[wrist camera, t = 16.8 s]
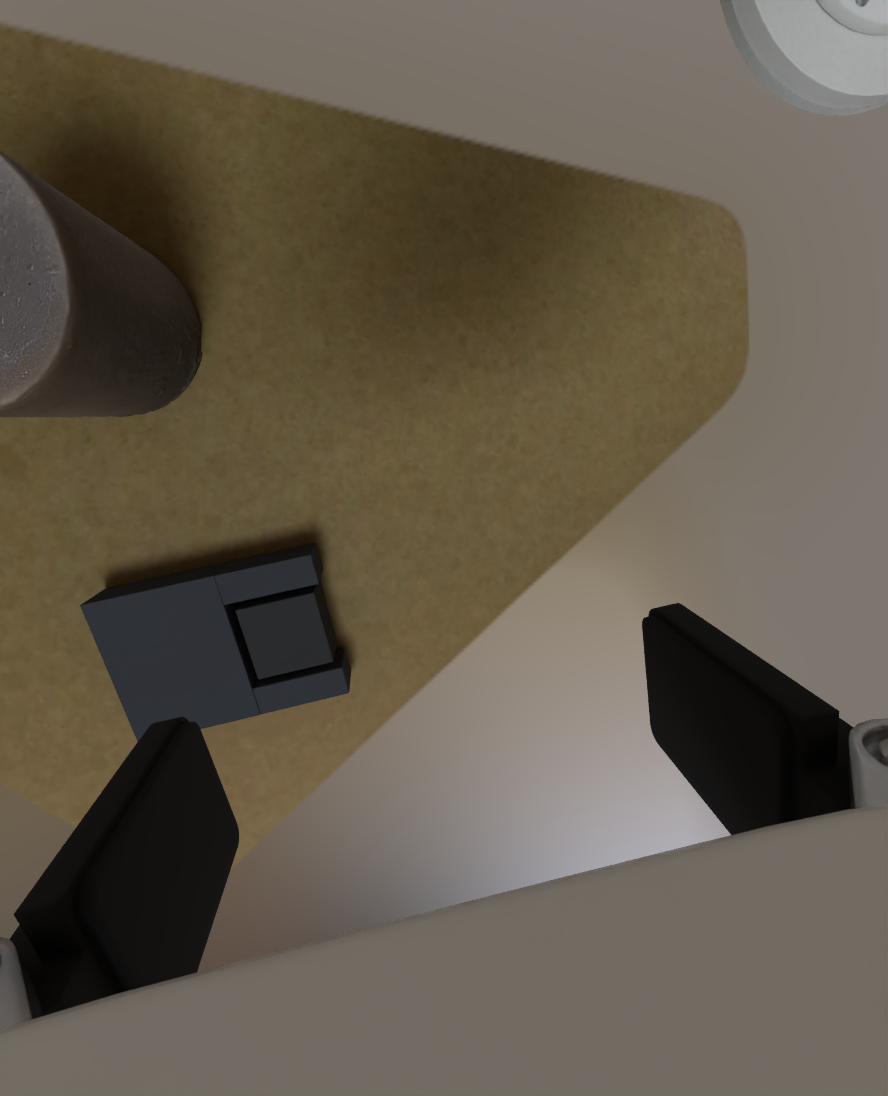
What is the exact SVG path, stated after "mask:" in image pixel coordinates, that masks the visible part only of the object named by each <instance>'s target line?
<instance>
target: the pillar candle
mask: <svg viewBox="0 0 888 1096" xmlns="http://www.w3.org/2000/svg"><path fill="white" fill-rule="evenodd" d="M200 334H201V326H200V322H199V319H198V316H197V312H196V309H195V307H194V304H193V302H192V300H191V298H190V296H189V294H188V293H187V291H186V289H185V288H184V287H183V285H182V284H181V282H180V281H179V280H178V278H177V277H176V276H175V275H174V274H173V273H172V272H171V271H170V270H169V269H168V268H167V267H166V266H165V265H164V264H163V263H162V262H161V261H160V260H158V259H157V258H156V257H154V256H153V255H152V254H150V253H149V252H147V251H146V250H144V249H143V248H141V247H140V246H138V245H137V244H135V243H134V242H133V241H131V240H130V239H128V238H127V237H125V236H124V235H122V234H121V233H119V232H118V231H117V230H115V229H114V228H112V227H111V226H109V225H108V224H106V223H105V222H103V221H102V220H100V219H99V218H98V217H96V216H95V215H93V214H92V213H90V212H89V211H87V210H86V209H84V208H83V207H82V206H80V205H79V204H77V203H76V202H75V201H73V200H72V199H70V198H69V197H67V196H66V195H64V194H63V193H61V192H60V191H58V190H57V189H55V188H54V187H52V186H51V185H49V184H48V183H47V182H45V181H44V180H42V179H41V178H39V177H38V176H36V175H35V174H34V173H32V172H31V171H29V170H28V169H26V168H25V167H24V166H22V165H21V164H19V163H18V162H16V161H15V160H13V159H12V158H10V157H9V156H7V155H6V154H4V153H3V152H1V151H0V417H82V416H96V417H106V416H118V417H121V416H131V415H135V414H145V413H148V412H150V411H155V410H157V409H160V408H162V407H164V406H166V405H167V404H169V403H170V401H173V400H174V399H176V398H177V397H178V396H180V395H181V393H182V392H183V391H184V390H185V389H186V388H187V387H188V385H189V383H190V382H191V381H192V378H193V377H194V375H195V373H196V371H197V368H198V366H199V362H200V360H201V351H200V343H201V342H200Z"/></svg>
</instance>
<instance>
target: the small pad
mask: <svg viewBox="0 0 888 1096" xmlns="http://www.w3.org/2000/svg"><path fill="white" fill-rule="evenodd" d="M236 614H237V617H238V620H239V623H240V626H241V629H242V632H243V635H244V638H245V641H246V644H247V647H248V650H249V653H250V656H251V659H252V662H253V665H254V668H255V671H256V674H257V677H258V679H263V678H267V677H271V676H275V675H280V674H284V673H288V672H292V671H296V670H301V669H305V668H309V667H313V666H318V665H322V664H326V663H330V662H333V661H334V655H335V648H336V638H335V635H334V631H333V628H332V624H331V620H330V617H329V613H328V609H327V606H326V602H325V599H324V595H323V591H322V588H321V584H320V581H319V584H316V585H311V586H307V587H302V588H298V589H294V590H289V591H285V592H280V593H276V594H271V595H267V596H262V597H258V598H253V599H249V600H245V601H242V602H241V603H240V605H239V606H238V608H237V609H236Z"/></svg>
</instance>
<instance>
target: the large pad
mask: <svg viewBox="0 0 888 1096" xmlns="http://www.w3.org/2000/svg"><path fill="white" fill-rule="evenodd" d="M322 572H323V567H322V563H321V560H320V556H319V552H318V549H317V545H316V543H313V544H308V545H304V546H299V547H295V548H290V549H286V550H281V551H276V552H272V553H267V554H263V555H258V556H254V557H249V558H244V559H240V560H235V561H231V562H226V563H221V564H217V565H212V566H208V567H203V568H198V569H194V570H189V571H185V572H180V573H175V574H171V575H166V576H162V577H157V578H153V579H148V580H143V581H139V582H134V583H130V584H125V585H121V586H116V587H111V588H107V589H104V590H103V591H101V592H100V593H98V594H97V595H95V596H94V597H92V598H90V599H89V600H87V601H86V602H84V603H83V604H81V605H80V606H81V609H82V611H83V613H84V616H85V618H86V620H87V623H88V625H89V627H90V630H91V632H92V635H93V637H94V639H95V642H96V644H97V646H98V649H99V651H100V653H101V656H102V658H103V661H104V663H105V665H106V668H107V670H108V672H109V675H110V677H111V680H112V682H113V684H114V687H115V689H116V691H117V694H118V696H119V698H120V701H121V703H122V706H123V708H124V710H125V713H126V715H127V717H128V720H129V722H130V724H131V727H132V729H133V732H134V734H135V736H136V739H137V741H139V740H140V738H141V737H142V736H143V734H144V733H145V731H146V730H147V729H148V727H149V726H150V725H151V724H152V723H156V722H160V721H165V720H169V719H173V718H178V717H182V716H183V717H186V718H187V719H188V720H189V722H193V721H194V722H196V723H197V724H198V725H199V727H200V729H203V728H207V727H211V726H215V725H219V724H224V723H228V722H232V721H236V720H240V719H244V718H248V717H253V716H257V715H260V714H264V713H268V712H272V711H276V710H280V709H285V708H289V707H293V706H297V705H301V704H305V703H309V702H314V701H318V700H322V699H326V698H330V697H334V696H338V695H343V694H347V693H349V688H350V677H351V670H350V666H349V662H348V659H347V655H346V651H345V649H344V648H343V649H339V650H335V655H334V661H333V662H330V663H326V664H322V665H318V666H313V667H309V668H305V669H301V670H296V671H292V672H288V673H284V674H280V675H275V676H271V677H267V678H263V679H258V677H257V674H256V671H255V668H254V665H253V662H252V659H251V656H250V653H249V650H248V647H247V644H246V641H245V638H244V635H243V632H242V629H241V626H240V623H239V620H238V617H237V614H236V609H237V608H238V606H239V605H240V601H245V600H249V599H253V598H258V597H262V596H267V595H271V594H276V593H280V592H285V591H289V590H294V589H298V588H302V587H307V586H311V585H316V584H319V581H320V578H321V575H322Z"/></svg>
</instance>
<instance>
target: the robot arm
mask: <svg viewBox="0 0 888 1096" xmlns="http://www.w3.org/2000/svg"><path fill="white" fill-rule="evenodd" d="M817 1H818V2H819V4H820V5H821V7H822V8H823V9H824V10H825V11H826V12H827V13H828V14H829V15H831V16H832V17H833V18H834V19H835V20H836V21H837V22H839V23H840V24H842V25H844V26H846V27H848V28H850V29H852V30H853V31H857V32H861V33H865V34H869V35H888V0H817ZM642 630H643V640H644V641H643V642H644V654H645V665H646V678H647V689H648V702H649V713H650V725H651V729H652V733H653V735H654V738H655V740H656V741H657V743H658V744H659V746H660V747H661V748H662V749H663V751H664V752H665V753H666V754H667V756H668V757H669V758H670V759H671V760H672V762H673V763H674V764H675V766H676V767H677V768H678V769H679V770H680V772H681V773H682V774H683V775H684V777H685V778H686V779H687V780H688V782H689V783H690V784H691V785H692V787H693V788H694V789H695V790H696V792H697V793H698V794H699V795H700V796H701V798H702V799H703V800H704V802H705V803H706V804H707V805H708V807H709V808H710V809H711V810H712V811H713V813H714V814H715V815H716V816H717V818H718V819H719V820H720V821H721V823H722V824H723V825H724V826H725V828H726V829H727V830H728V831H729V833H730V834H731V836H727V837H723V838H719V839H714V840H711V841H706V842H702V843H698V844H694V845H690V846H686V847H682V848H678V849H674V850H671V851H666V852H662V853H658V854H654V855H650V856H646V857H642V858H638V859H634V860H630V861H626V862H622V863H619V864H615V865H610V866H606V867H603V868H598V869H594V870H590V871H586V872H582V873H578V874H574V875H571V876H566V877H563V878H558V879H555V880H550V881H547V882H543V883H539V884H535V885H531V886H527V887H523V888H520V889H515V890H511V891H507V892H503V893H500V894H496V895H492V896H488V897H484V898H480V899H476V900H472V901H468V902H464V903H461V904H457V905H453V906H449V907H445V908H442V909H437V910H433V911H430V912H426V913H422V914H418V915H414V916H410V917H406V918H403V919H399V920H395V921H391V922H387V923H383V924H379V925H375V926H372V927H368V928H364V929H360V930H356V931H353V932H348V933H345V934H341V935H337V936H333V937H330V938H326V939H322V940H318V941H314V942H311V943H307V944H303V945H299V946H296V947H292V948H288V949H284V950H280V951H277V952H273V953H269V954H265V955H261V956H258V957H254V958H250V959H246V960H243V961H239V962H235V963H231V964H227V965H223V966H220V967H216V968H212V969H208V970H205V971H201V972H197V970H198V967H199V964H200V961H201V958H202V955H203V952H204V949H205V945H206V943H207V939H208V937H209V933H210V930H211V927H212V924H213V921H214V918H215V915H216V912H217V909H218V906H219V903H220V900H221V896H222V893H223V891H224V888H225V884H226V881H227V878H228V875H229V872H230V869H231V866H232V863H233V860H234V857H235V854H236V851H237V848H238V843H239V829H238V825H237V822H236V820H235V817H234V815H233V812H232V809H231V807H230V804H229V802H228V799H227V797H226V794H225V791H224V789H223V786H222V784H221V781H220V779H219V776H218V773H217V771H216V768H215V766H214V763H213V761H212V758H211V755H210V753H209V750H208V748H207V745H206V743H205V740H204V737H203V735H202V732H201V730H200V727H199V725H198V724H197V723H196V722H194V721H193V722H189V720H188V719H187V718H186V717H183V716H182V717H178V718H173V719H169V720H165V721H160V722H156V723H152V724H151V725H150V726H149V727H148V729H147V730H146V731H145V733H144V734H143V736H142V737H141V738H140V740H139V741H138V743H137V744H136V745H135V747H134V748H133V750H132V751H131V752H130V754H129V755H128V756H127V758H126V759H125V761H124V762H123V763H122V765H121V766H120V768H119V769H118V770H117V772H116V773H115V775H114V776H113V777H112V779H111V780H110V781H109V783H108V784H107V786H106V787H105V788H104V790H103V791H102V793H101V794H100V795H99V797H98V798H97V800H96V801H95V802H94V804H93V805H92V806H91V808H90V809H89V811H88V812H87V813H86V815H85V816H84V818H83V819H82V820H81V822H80V823H79V824H78V826H77V827H76V829H75V830H74V831H73V833H72V834H71V836H70V837H69V838H68V840H67V841H66V843H65V844H64V845H63V847H62V848H61V850H60V851H59V852H58V854H57V855H56V857H55V858H54V859H53V861H52V862H51V863H50V865H49V866H48V868H47V869H46V870H45V872H44V873H43V875H42V876H41V877H40V879H39V880H38V882H37V883H36V884H35V886H34V887H33V889H32V890H31V891H30V893H29V894H28V895H27V897H26V898H25V899H24V901H23V902H22V904H21V905H20V906H19V908H18V909H17V911H16V912H15V913H14V916H15V917H16V919H17V921H18V922H19V924H20V925H19V927H18V928H17V929H16V931H15V932H14V934H13V935H12V937H11V938H10V939H6V938H2V937H0V1096H888V719H887V718H886V719H874V720H869V721H865V722H862V723H859V724H857V725H856V726H855V727H854V728H853V727H852V726H850V725H849V724H848V723H846V722H845V721H843V720H842V719H840V718H839V711H838V710H837V709H835V708H834V707H832V706H831V705H829V704H828V703H826V702H825V701H823V700H822V699H820V698H819V697H817V696H816V695H814V694H813V693H812V692H810V691H808V690H807V689H805V688H804V687H803V686H801V685H800V684H798V683H797V682H795V681H794V680H792V679H791V678H789V677H788V676H786V675H785V674H783V673H782V672H780V671H779V670H777V669H776V668H775V667H773V666H772V665H770V664H769V663H767V662H766V661H764V660H763V659H761V658H760V657H758V656H757V655H755V654H754V653H752V652H751V651H749V650H748V649H747V648H745V647H744V646H742V645H741V644H739V643H738V642H736V641H735V640H733V639H732V638H730V637H729V636H727V635H726V634H724V633H723V632H722V631H720V630H718V629H717V628H716V627H714V626H713V625H711V624H710V623H708V622H707V621H705V620H704V619H702V618H701V617H699V616H698V615H696V614H695V613H693V612H692V611H690V610H689V609H687V608H686V607H685V606H683V605H682V604H679V603H676V604H671V605H667V606H662V607H658V608H654V609H651V610H650V612H649V617H646V618H644V619H643V621H642Z"/></svg>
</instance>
